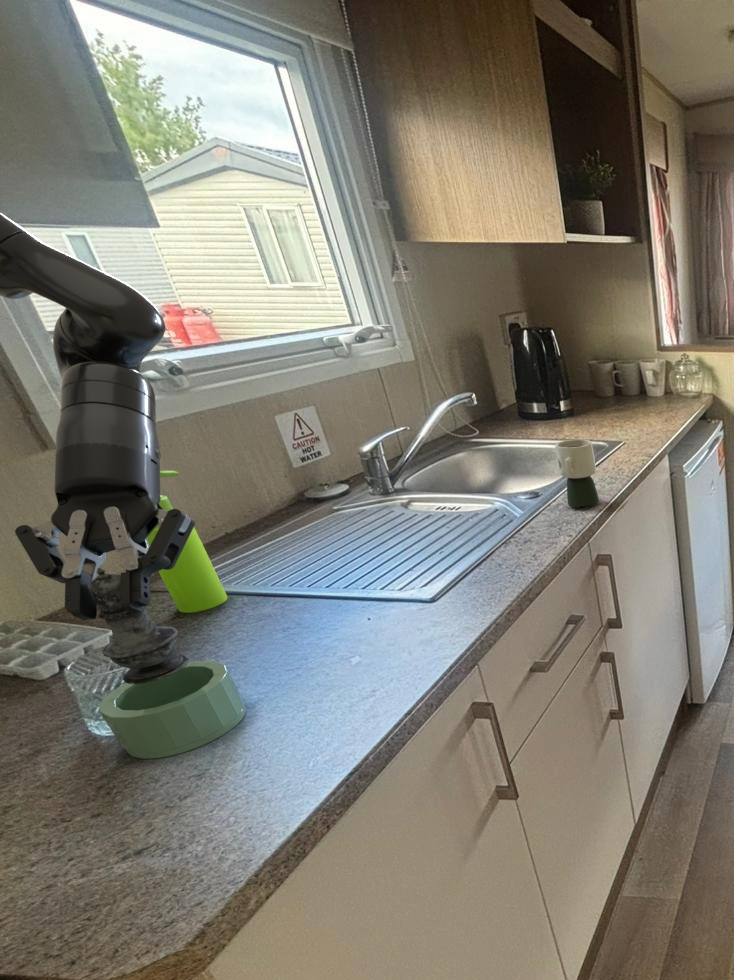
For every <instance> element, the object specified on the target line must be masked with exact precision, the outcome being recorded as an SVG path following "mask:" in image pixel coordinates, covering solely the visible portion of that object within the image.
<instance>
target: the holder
mask: <svg viewBox="0 0 734 980" xmlns="http://www.w3.org/2000/svg"><path fill="white" fill-rule="evenodd" d="M246 712H247V707H246V704H245V703H244V700H243V697H242V694H241V693H240V690H239V689H238V687H237V685H236V684H235V682H234V680H233V678H232V675H231V674H230V672H229V669H228V668H227V666H226V665H225V664H224V663H221V662H218V661H215V660H194V661H188V664H187V665H186V666H185V667H184V668H183V669H181V670H180V671H178V672H176V673H174V674H172V675H170V676H168V677H165V678H162V679H160V680H156V681H152V682H148V683H143V684H128V683H125V682H124V683H123V684H121V685H120V686H118V687H116V688H115V689H114V690H112V691H111V692H109V693H108V694H107V695H106V696H105V697H104V699H102V700H101V702H100V703H99V713H100V715H101V716H102V718H103V720H104V721H105V723H106V725H107V726H108V727H109V730H110V731H111V732H112V734H113V735H114V737H115V739H116V740H117V742H118V743H119V745H120V746H121V747H122V749H124V750H125V752H126V753H127V754H128V755H129V756H131V757H133V758H137V759H147V760H148V759H149V760H150V759H151V760H152V759H160V758H166V757H171V756H175V755H180V754H183V753H186V752H189V751H192V750H195V749H197V748H200V747H202V746H204V745H207V744H209V743H211V742H213V741H215V740H217V739H219V738H220V737H222V736H224V735H225V734H227V733H229V732H230V731H231V730H233V729H234V728H235V727H236V726H237V725H239V723H240V722H241V721H242V720H243V719H244V717H245V715H246Z"/></svg>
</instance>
